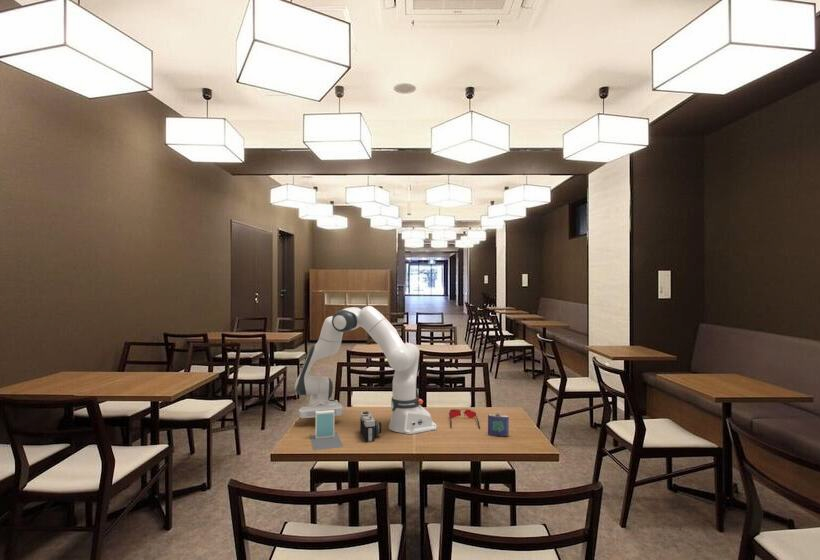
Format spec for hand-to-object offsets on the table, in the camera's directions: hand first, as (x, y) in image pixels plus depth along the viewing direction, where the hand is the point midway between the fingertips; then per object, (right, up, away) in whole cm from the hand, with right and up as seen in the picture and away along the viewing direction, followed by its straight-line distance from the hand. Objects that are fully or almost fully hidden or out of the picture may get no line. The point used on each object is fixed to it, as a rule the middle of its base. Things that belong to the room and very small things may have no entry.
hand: (322, 416), depth 199 cm
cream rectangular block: (+3, -6, -9) cm, 11 cm away
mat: (+4, -6, -14) cm, 16 cm away
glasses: (+66, -8, +12) cm, 68 cm away
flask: (+80, -8, -4) cm, 80 cm away
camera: (+23, -7, -8) cm, 25 cm away
